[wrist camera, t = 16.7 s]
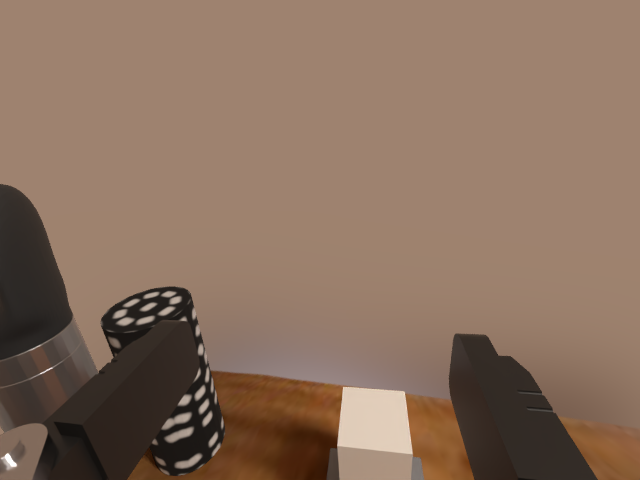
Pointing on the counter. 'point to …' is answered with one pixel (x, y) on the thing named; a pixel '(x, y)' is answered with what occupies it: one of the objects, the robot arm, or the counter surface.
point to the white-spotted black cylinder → (200, 399)
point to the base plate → (333, 467)
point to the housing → (374, 435)
